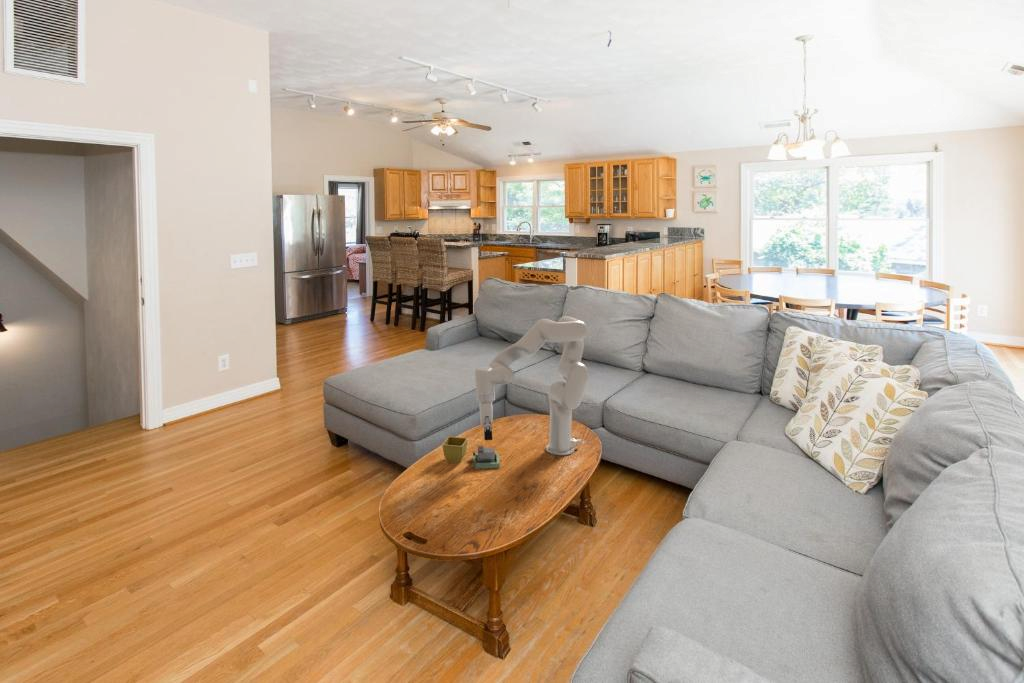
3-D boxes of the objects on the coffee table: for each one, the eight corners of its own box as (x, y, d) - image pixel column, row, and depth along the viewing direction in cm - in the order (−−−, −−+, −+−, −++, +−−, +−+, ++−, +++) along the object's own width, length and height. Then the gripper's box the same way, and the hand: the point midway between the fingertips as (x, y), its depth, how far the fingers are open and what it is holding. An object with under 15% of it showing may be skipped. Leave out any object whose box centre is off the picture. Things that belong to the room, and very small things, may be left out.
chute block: (494, 460, 244) (494, 445, 242) (494, 465, 239) (494, 450, 237) (477, 460, 243) (477, 446, 242) (478, 466, 238) (477, 450, 237)
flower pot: (462, 466, 238) (462, 446, 236) (442, 464, 240) (441, 444, 238) (468, 457, 247) (467, 437, 244) (448, 455, 248) (448, 436, 246)
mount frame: (498, 457, 246) (498, 450, 245) (499, 467, 236) (499, 460, 236) (473, 458, 246) (472, 451, 245) (473, 468, 236) (472, 461, 235)
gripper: (476, 390, 242) (479, 427, 247) (476, 404, 226) (479, 444, 230) (494, 389, 243) (496, 426, 247) (495, 403, 226) (498, 443, 230)
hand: (488, 435), depth 239 cm, fingers open, 9 cm apart
